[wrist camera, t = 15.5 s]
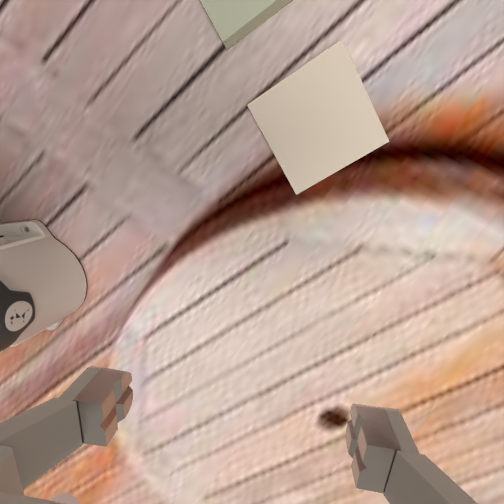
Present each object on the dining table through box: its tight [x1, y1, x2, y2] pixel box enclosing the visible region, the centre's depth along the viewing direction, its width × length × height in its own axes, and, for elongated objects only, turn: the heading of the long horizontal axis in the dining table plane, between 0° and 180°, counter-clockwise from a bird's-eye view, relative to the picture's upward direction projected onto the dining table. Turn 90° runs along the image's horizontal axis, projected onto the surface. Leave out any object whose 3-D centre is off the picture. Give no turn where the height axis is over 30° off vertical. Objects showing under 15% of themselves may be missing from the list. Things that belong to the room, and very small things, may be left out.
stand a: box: [247, 39, 389, 195], centre depth 34 cm, size 12×12×2 cm
